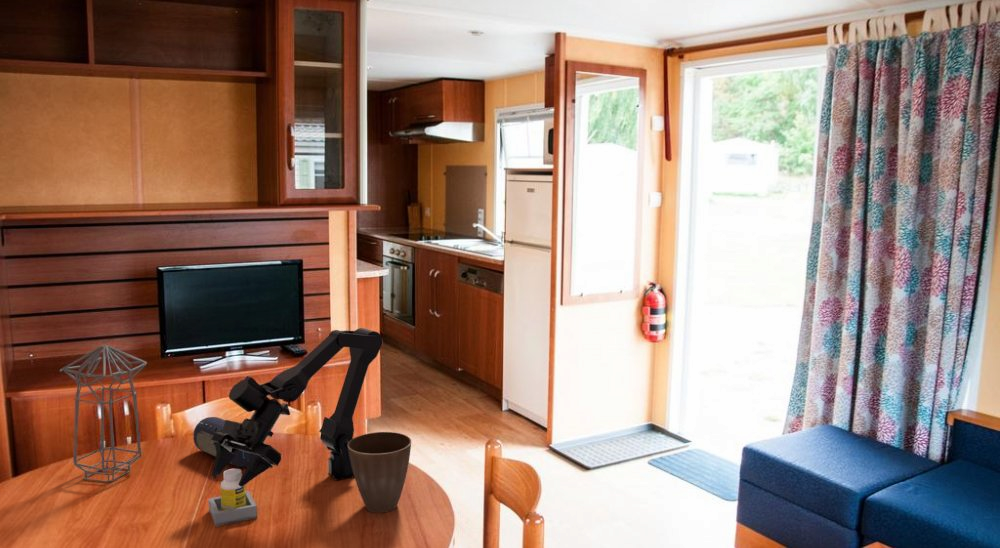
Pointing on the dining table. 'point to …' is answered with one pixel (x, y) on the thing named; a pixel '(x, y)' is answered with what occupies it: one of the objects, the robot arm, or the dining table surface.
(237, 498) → the supplement bottle
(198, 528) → the dining table surface
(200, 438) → the portable speaker
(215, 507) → the can holder
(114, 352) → the geometric lantern
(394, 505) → the plant pot
